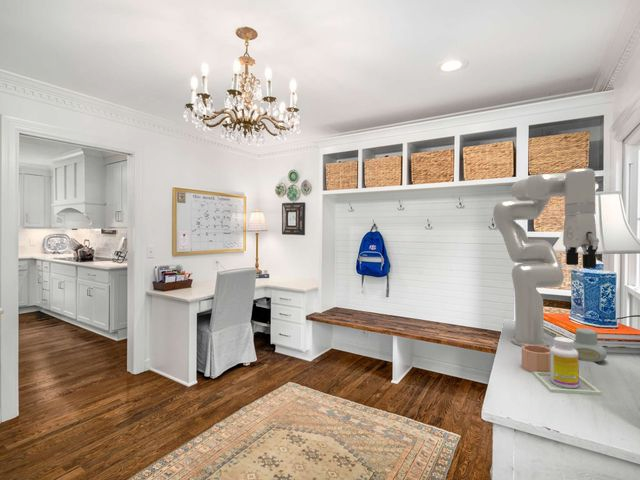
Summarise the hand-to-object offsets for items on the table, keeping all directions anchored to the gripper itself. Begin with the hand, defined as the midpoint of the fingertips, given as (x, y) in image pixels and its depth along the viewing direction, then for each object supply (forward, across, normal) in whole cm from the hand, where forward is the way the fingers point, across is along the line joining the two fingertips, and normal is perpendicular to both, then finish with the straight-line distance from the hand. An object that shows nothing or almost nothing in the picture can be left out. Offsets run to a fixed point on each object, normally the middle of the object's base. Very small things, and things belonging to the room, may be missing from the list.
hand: (580, 266), depth 106 cm
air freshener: (+34, -14, +8) cm, 37 cm away
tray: (+33, +10, -9) cm, 36 cm away
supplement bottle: (+33, +10, -9) cm, 35 cm away
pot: (+33, -1, -12) cm, 35 cm away
